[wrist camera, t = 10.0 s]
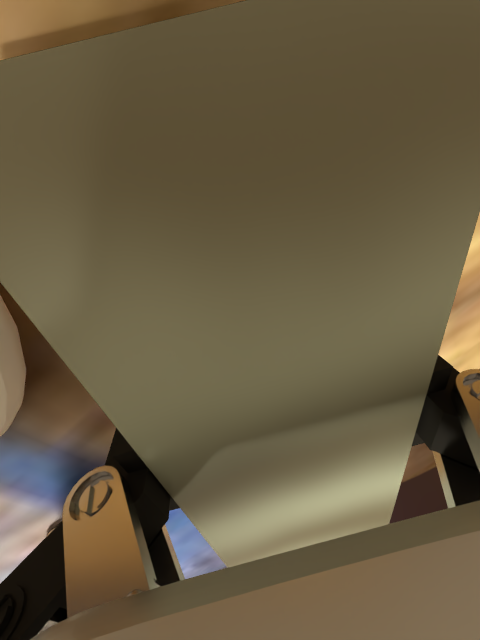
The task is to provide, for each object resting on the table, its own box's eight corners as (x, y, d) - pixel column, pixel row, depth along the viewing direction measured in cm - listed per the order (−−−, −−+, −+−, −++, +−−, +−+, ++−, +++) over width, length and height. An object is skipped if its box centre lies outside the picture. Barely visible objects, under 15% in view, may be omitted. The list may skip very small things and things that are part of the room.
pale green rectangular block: (73, 140, 7) (-149, 96, 2) (331, 76, 7) (563, -78, 2) (222, 459, 15) (231, 572, 11) (334, 429, 15) (386, 531, 11)
